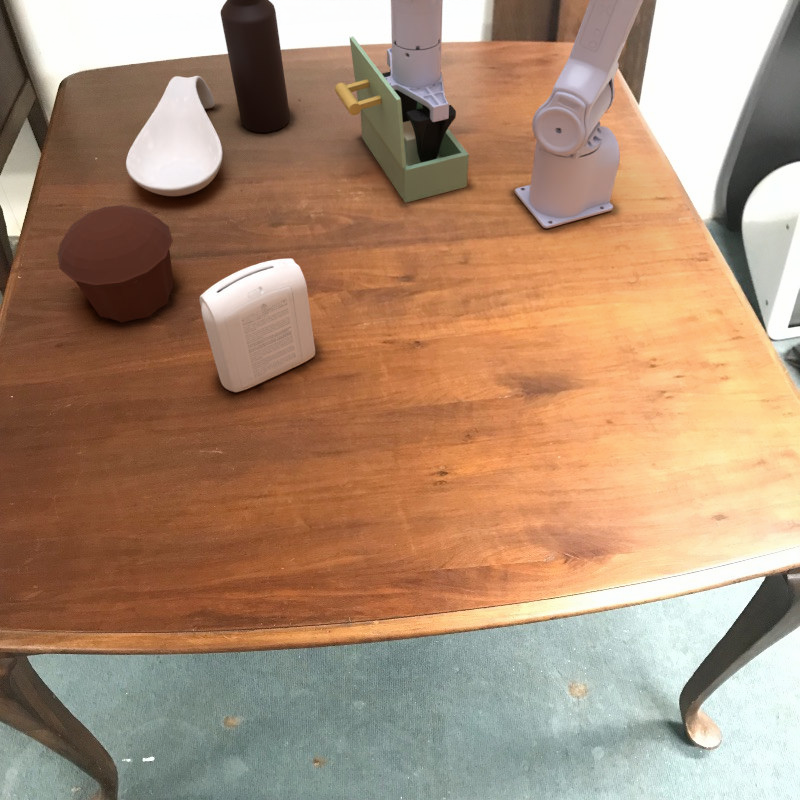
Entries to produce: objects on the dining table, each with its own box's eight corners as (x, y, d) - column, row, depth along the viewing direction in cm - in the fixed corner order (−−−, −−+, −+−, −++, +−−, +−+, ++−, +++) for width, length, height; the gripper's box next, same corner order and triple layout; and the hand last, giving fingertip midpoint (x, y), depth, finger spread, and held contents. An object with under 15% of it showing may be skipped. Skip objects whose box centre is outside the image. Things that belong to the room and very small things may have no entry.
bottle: (300, 115, 108) (280, -38, 92) (269, 139, 104) (244, -16, 89) (261, 102, 110) (237, -50, 95) (230, 125, 107) (199, -29, 91)
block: (423, 144, 102) (423, 117, 99) (435, 161, 99) (436, 133, 96) (395, 151, 101) (394, 123, 98) (407, 168, 98) (406, 140, 95)
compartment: (419, 124, 106) (419, 92, 102) (467, 187, 97) (469, 154, 93) (361, 138, 104) (360, 105, 100) (405, 203, 95) (404, 170, 91)
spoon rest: (223, 209, 95) (211, 158, 89) (126, 213, 95) (109, 162, 89) (238, 105, 110) (229, 56, 104) (155, 108, 109) (141, 59, 104)
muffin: (98, 346, 81) (65, 273, 73) (64, 285, 86) (30, 213, 79) (203, 301, 85) (182, 228, 77) (164, 246, 90) (140, 173, 83)
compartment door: (353, 36, 93) (317, 46, 92) (400, 98, 84) (361, 110, 83) (361, 103, 100) (328, 113, 100) (406, 167, 91) (370, 178, 90)
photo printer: (302, 332, 82) (288, 239, 72) (323, 357, 79) (310, 264, 70) (213, 373, 78) (185, 281, 68) (232, 400, 76) (205, 310, 66)
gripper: (361, 17, 92) (367, 121, 102) (408, 75, 83) (408, 182, 94) (416, 6, 93) (416, 110, 104) (467, 62, 85) (461, 169, 95)
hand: (416, 143), depth 99 cm, fingers open, 7 cm apart
